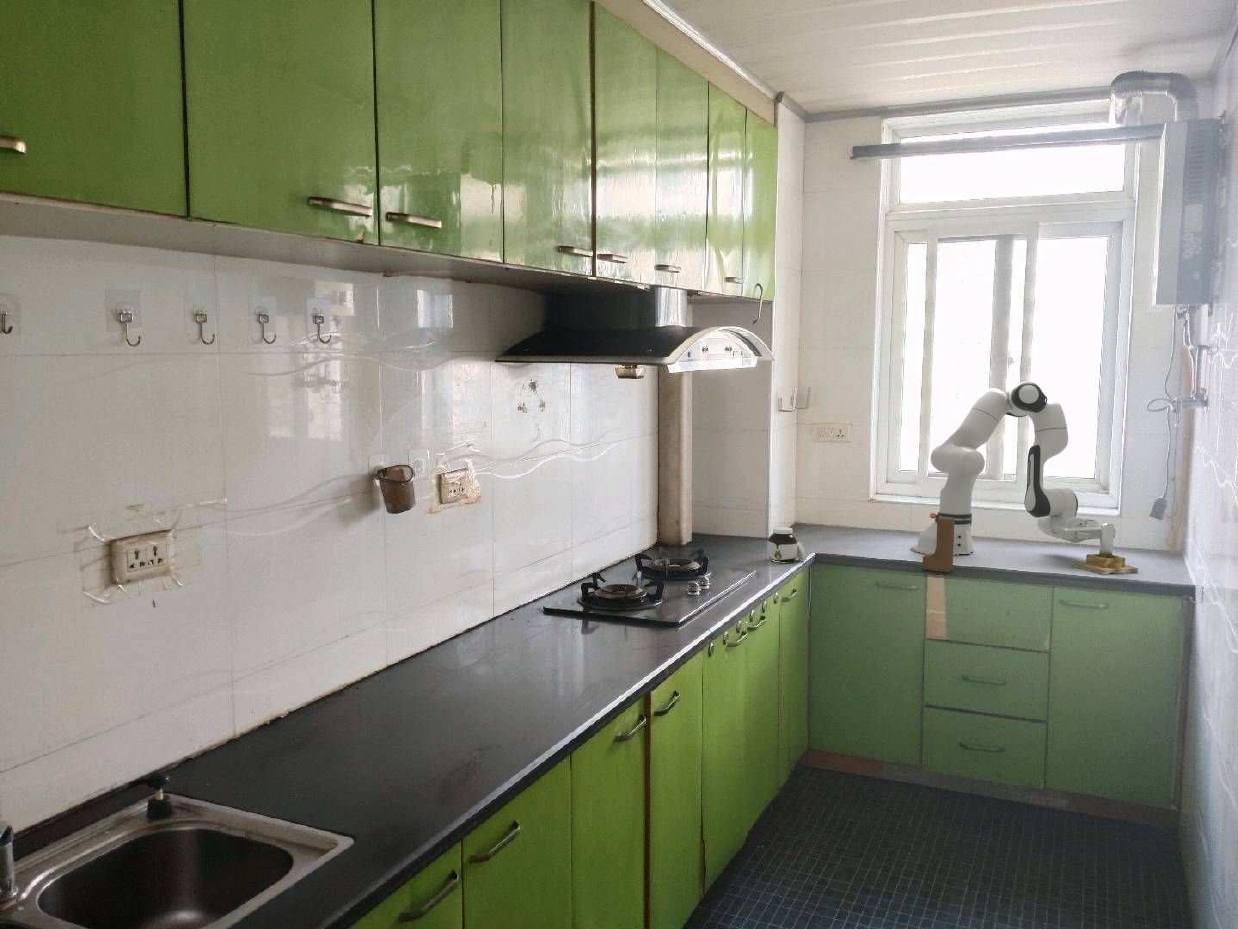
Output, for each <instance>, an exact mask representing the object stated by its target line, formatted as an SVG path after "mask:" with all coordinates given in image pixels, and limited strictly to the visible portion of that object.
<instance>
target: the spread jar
mask: <svg viewBox="0 0 1238 929" xmlns="http://www.w3.org/2000/svg"><path fill="white" fill-rule="evenodd" d="M767 556H768V558H769V560H770V559H772V560H775V561H780V562H791V561H792V562H794V561H795V560H796V559H798V558H799V559H801V560H802V561H801V562H803V561H807V553H806V550H805V548H804V546H803V545H802V543H801V542H800V541H798V540H797V538H796V536H795V535H794V533H793V528H792V527H786V526H778V527H777V526H775V527H773V528H772V533H771V535H770V536H769V537H768V539H767ZM799 559H798V560H799ZM792 562H791V563H792Z"/></svg>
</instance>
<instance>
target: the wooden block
mask: <svg viewBox="0 0 1238 929" xmlns="http://www.w3.org/2000/svg"><path fill="white" fill-rule="evenodd" d="M954 522H955V519H954V518H951V517H940V518H938V519H937V542H936V550H935V553H933V554H924V556H922V567H921V568H922V570H925V571H932V572H940V573H950V572H953V569H954V555H953V549H954Z"/></svg>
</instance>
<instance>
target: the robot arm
mask: <svg viewBox="0 0 1238 929" xmlns="http://www.w3.org/2000/svg"><path fill="white" fill-rule="evenodd" d="M1004 416H1010V417H1014V418H1024V417H1027V416H1028V417H1029V418H1030V419H1031V422H1032V424H1033V430H1034V431H1033V432H1034V441H1033V445H1031V446H1030V447H1029V450H1028V453H1027V463H1026V464H1027V469H1026V489H1025V490H1026V491H1025V495H1024V496H1025V497H1024V501H1023V502H1024V508H1025V509H1026V512H1028V514H1029V515H1030V516H1032V517H1034V518H1035V519H1036V518H1037V521H1036V522H1037V527H1038V528H1039V530H1040V531H1041V532H1042V533H1043V534H1044V535H1045V536H1046V535H1047V536H1049V537H1051V538H1055V539H1061V540H1062V541H1066V542H1070V543H1073V544H1078V543H1081V542H1083V541H1084V542H1085V541H1087V540H1088V541H1089V540H1100V532H1101V523H1102V522H1098V520H1095V519H1084V518H1082V517H1076V516H1077V512H1078V510H1079V500H1078V497H1077V495H1076V493H1074V491H1073V490H1072V489H1069V488H1046V489H1045V487H1044V466H1045V464H1046V463H1047V461H1048V460H1049V459H1051V458H1053V457H1056V456H1057V455H1059V454H1061V453H1062V452H1063V451H1064V450H1065V449H1066V448H1067V446H1068V444H1069V433H1068V425H1067V421H1066V416H1065V414H1064V410H1063V407H1062V406H1061V404H1060V403H1059V402H1058V401H1053V400H1048V397H1047V395H1045V393H1044V392H1043V390H1042V389H1041V387H1040V386H1039V385H1038V384H1037V383H1034V382H1032V381H1023V382H1020V383H1018V384H1016V385H1015V386H1014V387H1013V388H1012V389H1010V390H1009V391H1002V390H1001V389H998V388H988V389H987V390H985V391H984V392H983V393H982V395H980V397H979V398H978V399H977V400H976V402H975V403H974V404H973V406H972V407H971V409H970V410H969V413H967V415H966V417H965V418H964V419H963V422H962V423H961V424H960V426H959V427H958V428H957V429H956V430H955V431H954V432H953V433H952V434H951V435H950V436H949V437H948V438H947V439H946V440H945V441H944V442H943V443H942V444H940V445H938V446H936V447H935V448H934V449H932V452H931V455H930V463H931V466H933V468H934V469H935V470H937V471H939V472H941V473H943V474H946V475H947V477H946V478H947V479H946V482H945V484H944V486H943V487H942V488H941V489H940V492H939V511H938V512H937V513H934V512H930V514H928V515H929V518H930V519H934V522H933V523H932V524H930V525H929V526H928V527H926V528H925V529H924V530H922V531H921V532H920V534H919V535H918V539H917V544H916V545H911V546H910V550H912V551H913V552H916V553H919V552H920V554H923V553H924V554H923V555H928V554H933V553H935V550H936V542H937V519H938V518H940V517H951V518H954V519H955V522H954V549H953V556H956V554H957V556H960V555H959V554H970V555H971V552H972V553H974V552H975V549H974V546H973V539H972V528H971V527H972V523H973V513H972V497H973V496H972V494H973V490H974V486H975V484H976V481H977V478H978V476H980V474H981V473H983V471H984V468H985V466H986V462H985V457H984V455H983V454H982V453H981V452H980V451H978V448H980V447H981V446H982V445H985V444H986V443H987V442H988V441H989V440H990V438H991V437H992V435H993V433H994V432H995V430H996V429H997V427H998V426H999V424H1000V422H1001V421H1002V419H1003V417H1004ZM1115 538H1116V528H1115V527H1114V536H1113V539H1115Z"/></svg>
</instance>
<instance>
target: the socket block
mask: <svg viewBox="0 0 1238 929" xmlns="http://www.w3.org/2000/svg"><path fill="white" fill-rule="evenodd" d="M1085 558H1086V559H1085V560H1084V561H1083V560H1082V561H1073V563H1072V566H1073V567H1074V566H1076V567H1075V568H1078V567H1079V568H1078V569H1081V570H1084V569H1085V570H1084V571H1088V570H1090V571H1089V572H1091V571H1093V572H1092V573H1094V572H1096V574H1098V573H1100V574H1099V575H1101V574H1105V575H1109V574H1108V573H1123V574H1127V573H1126V572H1138V573H1139V567H1134V566H1133V565H1128V564H1126V557H1123V556H1119V555H1115V554H1112V558H1101V557H1099V553H1091V554H1090V553H1088V554H1086V557H1085Z"/></svg>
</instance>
